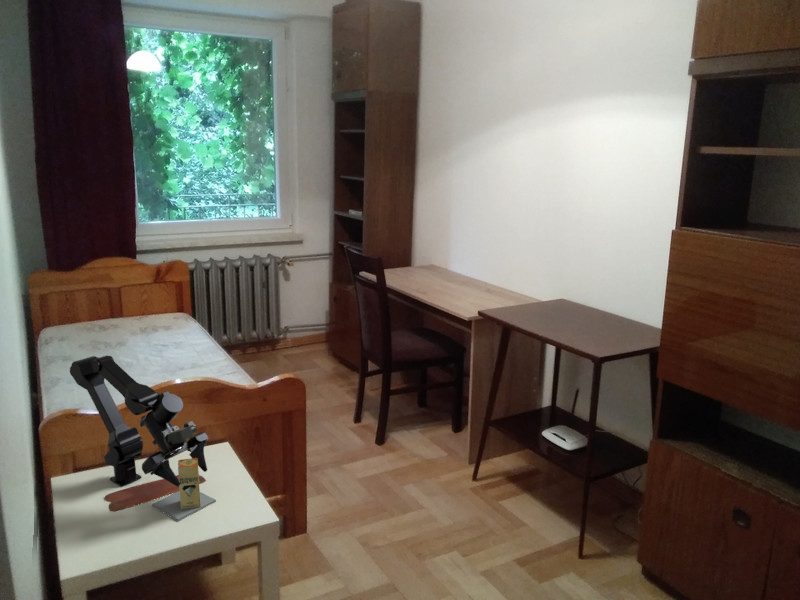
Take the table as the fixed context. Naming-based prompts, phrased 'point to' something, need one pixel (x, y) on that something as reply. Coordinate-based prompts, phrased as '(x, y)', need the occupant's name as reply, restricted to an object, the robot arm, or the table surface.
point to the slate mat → (173, 505)
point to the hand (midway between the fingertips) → (192, 478)
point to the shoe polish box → (189, 483)
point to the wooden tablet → (142, 493)
